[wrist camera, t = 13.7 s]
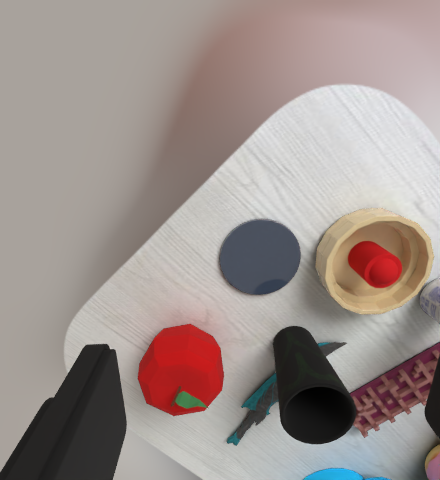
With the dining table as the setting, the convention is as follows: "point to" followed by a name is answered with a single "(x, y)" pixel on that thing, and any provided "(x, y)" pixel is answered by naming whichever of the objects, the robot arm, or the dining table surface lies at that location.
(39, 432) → the robot arm
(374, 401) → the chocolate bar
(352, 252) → the red cylinder
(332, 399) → the cup
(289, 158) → the dining table surface
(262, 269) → the dark grey coaster
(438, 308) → the beverage can
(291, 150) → the dining table surface
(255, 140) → the dining table surface
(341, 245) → the serving bowl
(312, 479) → the mug
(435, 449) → the doughnut
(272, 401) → the knife
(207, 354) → the apple
